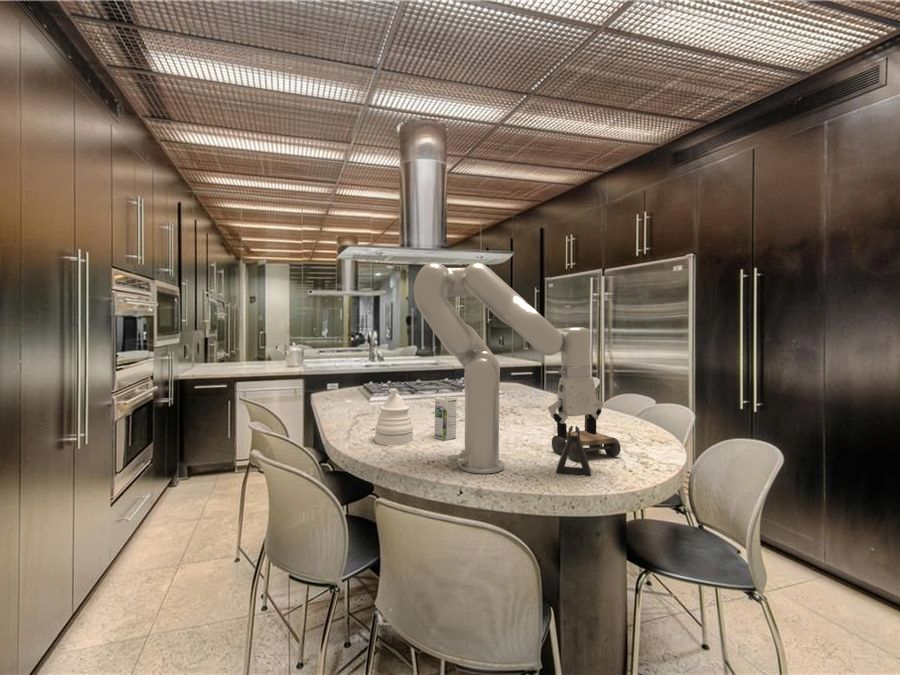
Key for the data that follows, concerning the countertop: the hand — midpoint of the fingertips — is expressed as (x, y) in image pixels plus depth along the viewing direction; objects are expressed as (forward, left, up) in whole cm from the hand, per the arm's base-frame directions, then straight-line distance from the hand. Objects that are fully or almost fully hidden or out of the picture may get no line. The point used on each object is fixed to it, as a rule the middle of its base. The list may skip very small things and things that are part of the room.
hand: (577, 435), depth 125 cm
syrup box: (-20, +48, -10) cm, 53 cm away
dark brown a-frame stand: (-1, 0, -10) cm, 10 cm away
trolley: (+13, +13, -10) cm, 21 cm away
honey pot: (-38, +50, -10) cm, 64 cm away
